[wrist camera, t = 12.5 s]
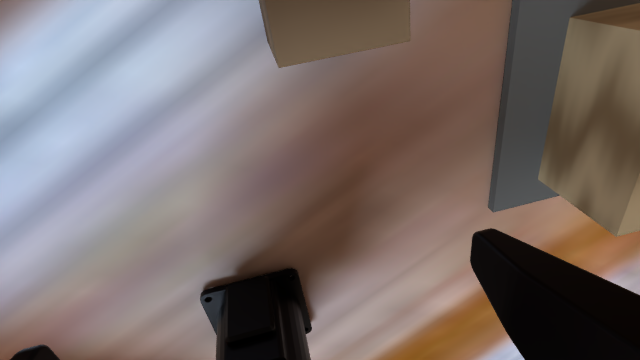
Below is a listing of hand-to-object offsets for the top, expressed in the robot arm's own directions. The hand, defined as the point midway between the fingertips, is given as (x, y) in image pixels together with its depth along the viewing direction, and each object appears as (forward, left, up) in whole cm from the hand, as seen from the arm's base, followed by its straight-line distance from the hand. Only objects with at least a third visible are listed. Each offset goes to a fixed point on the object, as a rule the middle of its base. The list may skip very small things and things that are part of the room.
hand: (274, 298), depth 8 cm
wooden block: (-4, -19, -12) cm, 23 cm away
